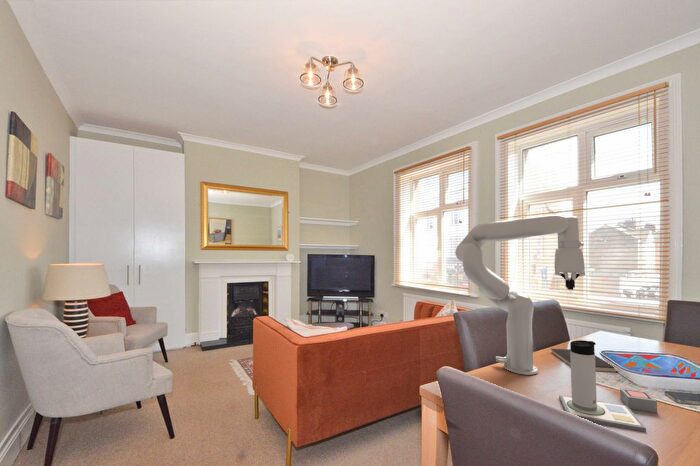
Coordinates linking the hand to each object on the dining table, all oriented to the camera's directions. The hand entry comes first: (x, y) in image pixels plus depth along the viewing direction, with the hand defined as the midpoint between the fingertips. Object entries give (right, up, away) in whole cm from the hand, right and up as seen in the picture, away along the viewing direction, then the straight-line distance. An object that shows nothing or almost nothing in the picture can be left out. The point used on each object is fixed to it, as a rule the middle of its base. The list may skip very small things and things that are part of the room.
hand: (570, 289), depth 135 cm
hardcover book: (+11, -34, +9) cm, 37 cm away
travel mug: (-20, -30, -35) cm, 50 cm away
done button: (0, -30, -32) cm, 44 cm away
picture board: (-17, -31, -37) cm, 51 cm away
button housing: (0, -32, -32) cm, 45 cm away
